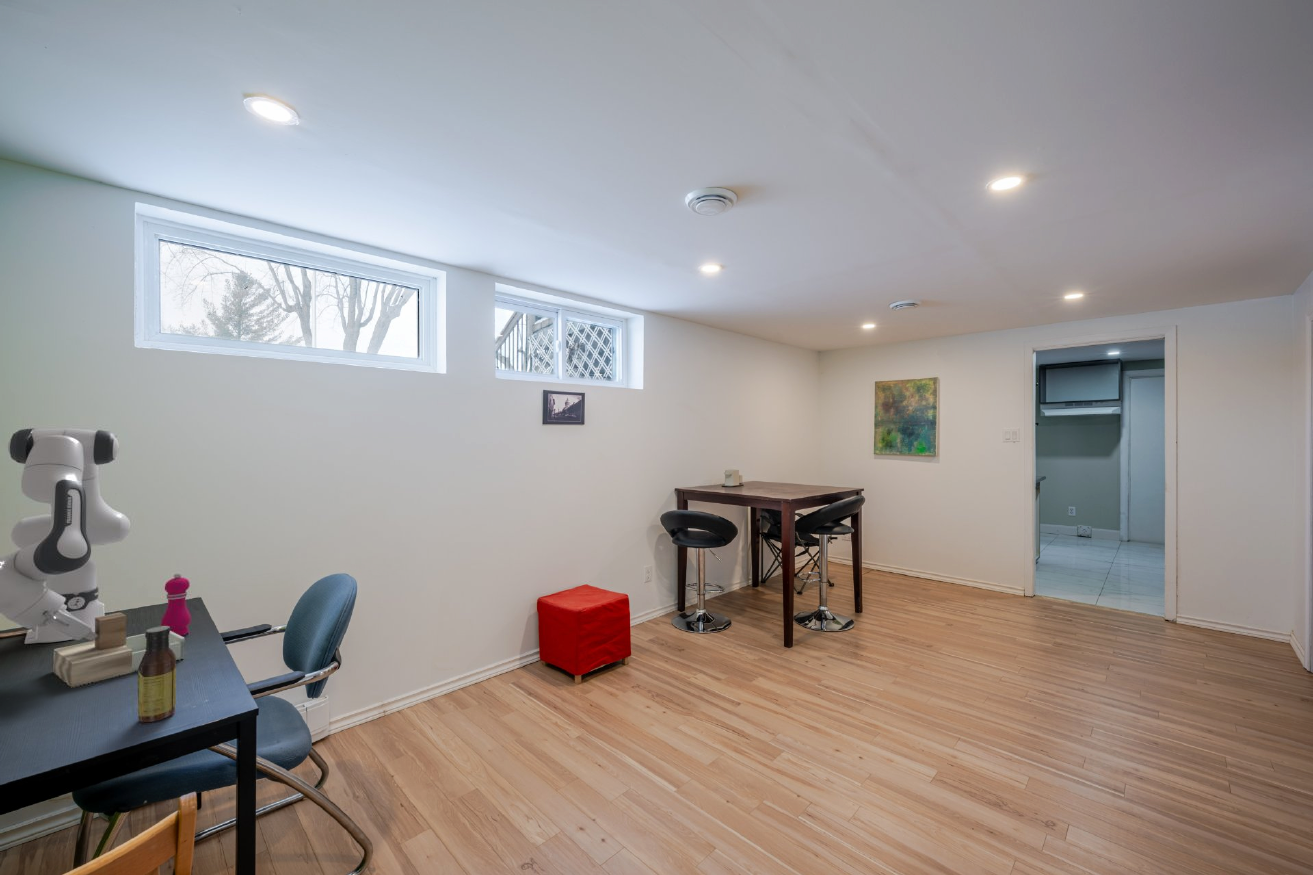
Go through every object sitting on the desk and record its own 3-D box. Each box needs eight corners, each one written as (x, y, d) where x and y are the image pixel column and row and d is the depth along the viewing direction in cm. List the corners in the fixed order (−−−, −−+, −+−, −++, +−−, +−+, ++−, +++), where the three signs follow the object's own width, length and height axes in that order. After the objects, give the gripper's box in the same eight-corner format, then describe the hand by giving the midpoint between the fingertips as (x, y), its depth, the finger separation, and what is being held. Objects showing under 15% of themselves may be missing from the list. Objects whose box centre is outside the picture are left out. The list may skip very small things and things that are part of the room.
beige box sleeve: (53, 671, 142) (53, 649, 142) (110, 658, 152) (111, 637, 152) (71, 688, 133) (72, 663, 133) (131, 672, 142) (132, 650, 142)
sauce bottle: (153, 710, 121) (156, 623, 122) (183, 710, 122) (186, 622, 123) (127, 725, 115) (131, 633, 116) (158, 724, 115) (162, 632, 116)
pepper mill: (172, 640, 166) (174, 576, 167) (154, 638, 168) (156, 574, 168) (196, 632, 174) (198, 571, 174) (178, 630, 175) (180, 569, 176)
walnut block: (94, 647, 144) (94, 617, 144) (120, 641, 148) (120, 612, 149) (100, 650, 142) (100, 620, 142) (126, 644, 146) (126, 615, 146)
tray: (110, 658, 152) (111, 637, 152) (161, 646, 161) (161, 626, 161) (131, 672, 142) (132, 650, 142) (184, 659, 151) (184, 637, 152)
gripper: (64, 605, 131) (117, 633, 139) (44, 592, 142) (94, 620, 150) (36, 628, 127) (92, 656, 135) (17, 613, 138) (71, 640, 146)
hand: (93, 637), depth 142 cm, fingers closed
